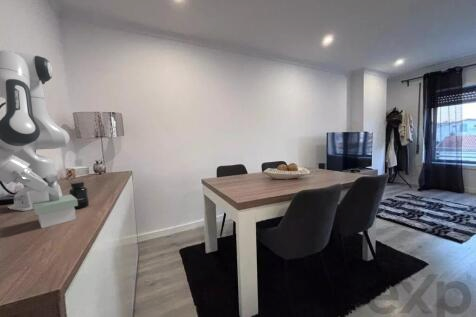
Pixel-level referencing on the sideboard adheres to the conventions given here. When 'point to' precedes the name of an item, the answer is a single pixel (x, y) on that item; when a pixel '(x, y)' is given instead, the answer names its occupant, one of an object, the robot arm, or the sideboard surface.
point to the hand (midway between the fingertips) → (54, 191)
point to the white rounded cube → (56, 217)
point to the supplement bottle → (79, 194)
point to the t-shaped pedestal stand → (53, 199)
